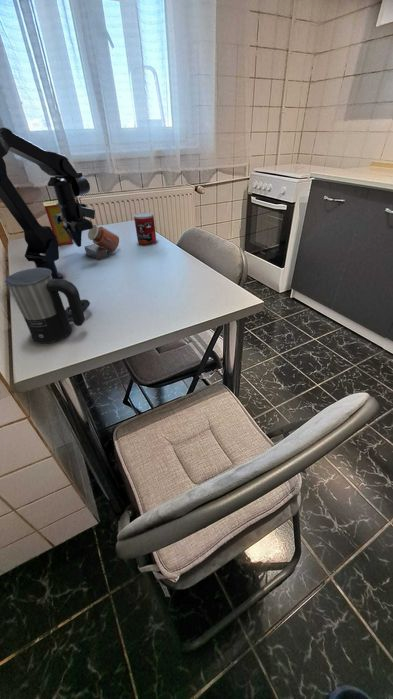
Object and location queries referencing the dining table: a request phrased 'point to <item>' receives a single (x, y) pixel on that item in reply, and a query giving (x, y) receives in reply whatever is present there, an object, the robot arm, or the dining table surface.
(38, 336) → the milk frother
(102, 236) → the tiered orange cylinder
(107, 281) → the dining table surface
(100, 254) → the walnut block
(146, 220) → the canned food
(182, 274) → the dining table surface
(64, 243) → the baking soda box
